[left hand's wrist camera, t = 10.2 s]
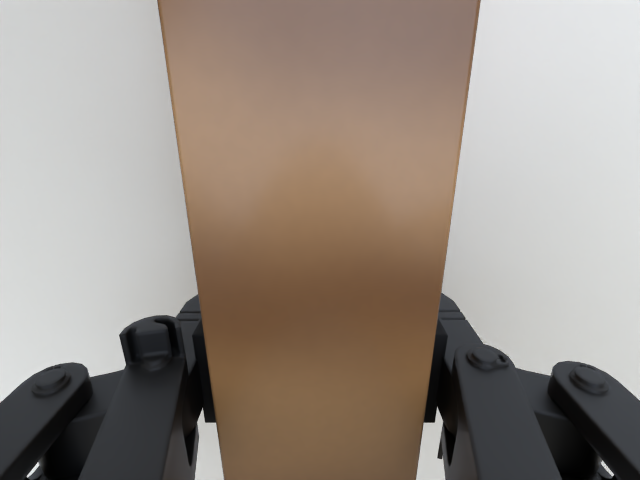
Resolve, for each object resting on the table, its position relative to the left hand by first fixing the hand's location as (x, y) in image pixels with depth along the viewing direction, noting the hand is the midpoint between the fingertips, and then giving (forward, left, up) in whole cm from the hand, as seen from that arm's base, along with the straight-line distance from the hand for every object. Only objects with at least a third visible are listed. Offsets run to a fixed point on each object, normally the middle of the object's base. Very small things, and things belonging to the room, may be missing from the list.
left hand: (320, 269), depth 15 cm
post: (+21, -15, -1) cm, 26 cm away
